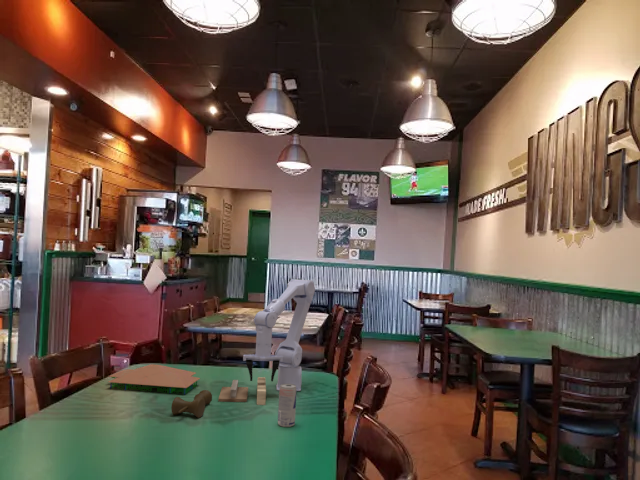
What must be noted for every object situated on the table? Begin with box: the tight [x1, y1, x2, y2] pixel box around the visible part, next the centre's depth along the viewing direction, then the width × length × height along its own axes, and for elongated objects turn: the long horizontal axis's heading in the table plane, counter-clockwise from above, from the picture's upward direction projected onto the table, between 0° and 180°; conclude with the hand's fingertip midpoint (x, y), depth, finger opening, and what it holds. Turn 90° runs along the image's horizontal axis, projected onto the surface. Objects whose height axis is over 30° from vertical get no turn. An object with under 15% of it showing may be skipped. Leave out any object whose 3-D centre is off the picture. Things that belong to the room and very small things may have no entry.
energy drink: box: [277, 384, 297, 428], centre depth 153 cm, size 5×5×12 cm
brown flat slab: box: [107, 363, 201, 395], centre depth 192 cm, size 23×33×8 cm
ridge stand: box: [217, 379, 249, 403], centre depth 182 cm, size 10×16×4 cm, turn 7°
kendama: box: [171, 389, 213, 419], centre depth 161 cm, size 6×10×20 cm
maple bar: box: [256, 376, 267, 406], centre depth 182 cm, size 20×3×5 cm, turn 7°
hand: (261, 380), depth 182 cm, fingers open, 7 cm apart
